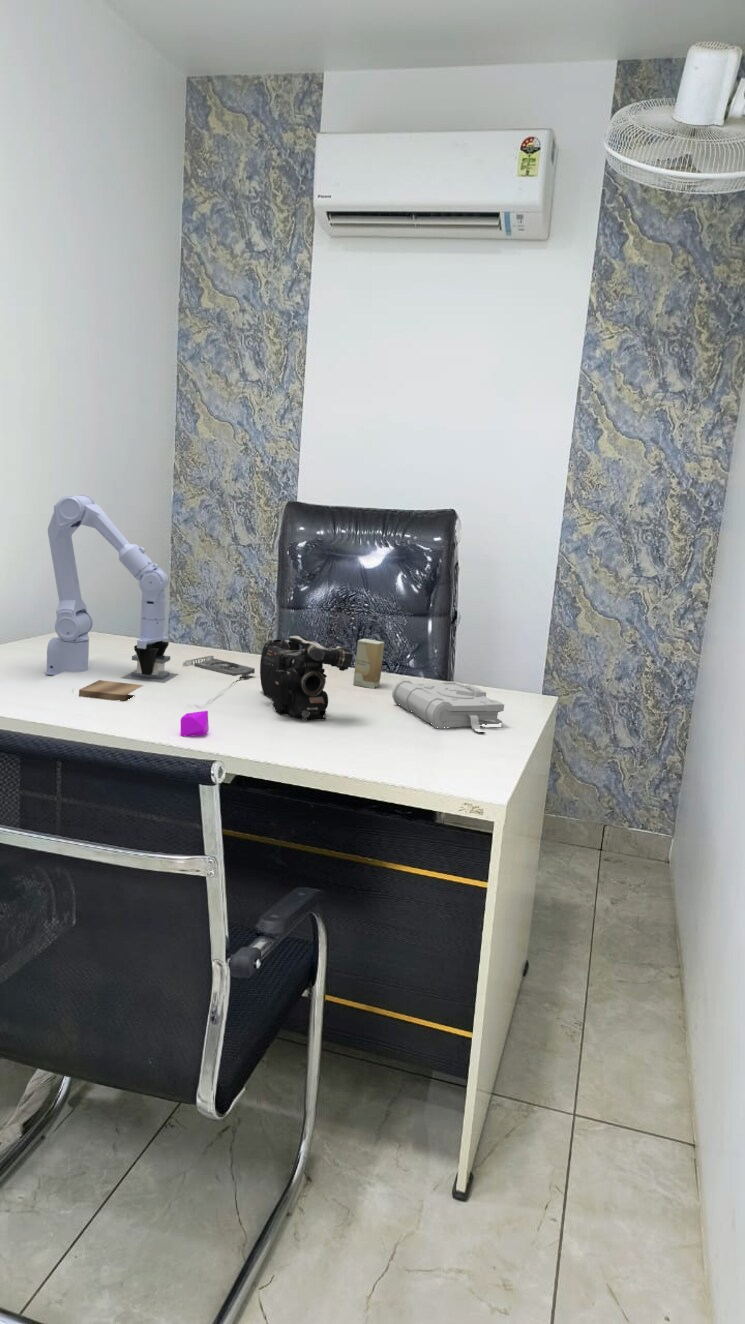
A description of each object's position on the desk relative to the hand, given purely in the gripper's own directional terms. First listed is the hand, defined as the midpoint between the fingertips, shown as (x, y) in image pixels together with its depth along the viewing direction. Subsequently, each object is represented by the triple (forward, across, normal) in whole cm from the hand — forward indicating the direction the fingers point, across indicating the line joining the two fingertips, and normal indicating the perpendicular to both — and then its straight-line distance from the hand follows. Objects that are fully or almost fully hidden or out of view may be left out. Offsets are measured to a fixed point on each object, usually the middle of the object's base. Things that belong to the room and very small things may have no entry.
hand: (150, 672), depth 230 cm
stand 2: (+2, 0, 0) cm, 2 cm away
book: (+3, -2, -75) cm, 75 cm away
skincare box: (+3, +22, -52) cm, 56 cm away
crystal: (+3, -39, -24) cm, 46 cm away
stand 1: (+2, -16, +4) cm, 16 cm away
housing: (+1, 0, 0) cm, 1 cm away
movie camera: (+3, -9, -39) cm, 40 cm away
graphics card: (+3, +17, -13) cm, 21 cm away
